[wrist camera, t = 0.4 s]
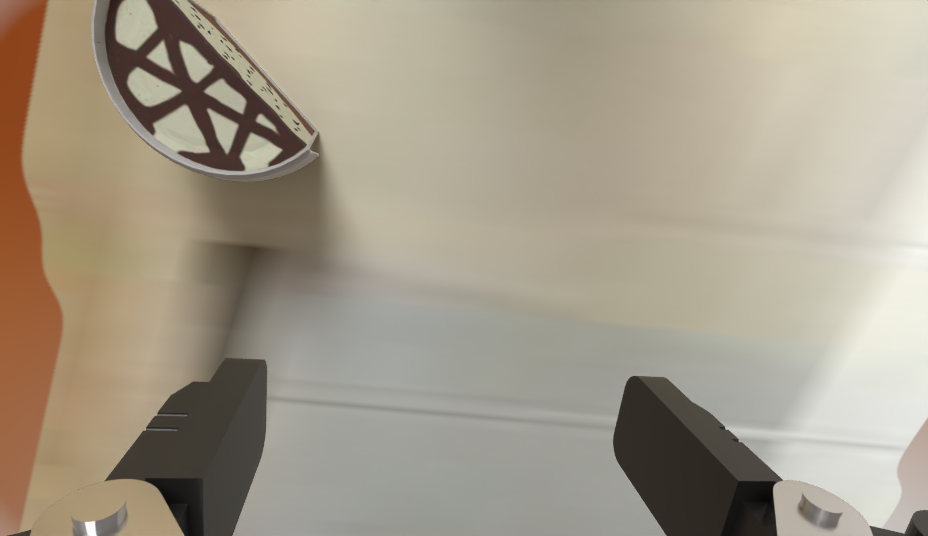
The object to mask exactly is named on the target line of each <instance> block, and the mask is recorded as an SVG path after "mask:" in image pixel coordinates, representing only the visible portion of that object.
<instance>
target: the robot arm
mask: <svg viewBox="0 0 928 536" xmlns="http://www.w3.org/2000/svg"><path fill="white" fill-rule="evenodd" d="M266 397H267V365H266V361H265V360H260V359H236V358H226V359H225V360H224V361H223V362H222V364H221V365H220V367H219V368H218V370H217V371H216V373H215V374H214V376H213V377H212V379H211V380H210V382H192V383H190V384H189V385H187V386H185V387H184V388H182V389H181V390H179V391H177V392H176V393H174V394H172V395H171V396H170V397H169V398H168V400H167V401H166V402H165V404H164V405H163V406H162V408H161V409H160V410H159V411H158V414H157V416H155V417H154V418H153V419H152V420H151V422H150V423H149V424H148V426H147V427H146V431H143V432H142V433H141V435H140V436H139V437H138V439H137V440H136V441H135V442H134V444H133V445H132V446H131V448H130V449H129V450H128V452H127V453H126V454H125V455H124V457H123V458H122V459H121V461H120V462H119V463H118V464H117V466H116V467H115V468H114V470H113V471H112V472H111V474H110V475H109V476H108V477H107V479H106V480H105V481H104V482H100V483H96V484H93V485H90V486H87V487H84V488H82V489H79V490H77V491H75V492H73V493H71V494H69V495H67V496H65V497H64V498H62V499H60V500H59V501H57V502H56V503H54V504H53V505H52V506H50V507H49V508H48V509H47V510H46V511H45V512H44V513H43V514H42V515H41V516H40V517H39V518H38V520H37V521H36V522H35V524H34V526H33V528H32V530H29V531H25V532H21V533H18V534H14V535H9V536H232V535H233V532H234V530H235V527H236V524H237V522H238V519H239V516H240V513H241V511H242V508H243V505H244V503H245V500H246V497H247V494H248V492H249V489H250V486H251V484H252V481H253V478H254V475H255V473H256V470H257V467H258V465H259V462H260V459H261V456H262V452H263V447H264V441H265V433H266ZM613 445H614V452H615V456H616V459H617V461H618V463H619V465H620V466H621V468H622V469H623V471H624V472H625V474H626V475H627V477H628V478H629V480H630V481H631V483H632V484H633V486H634V487H635V489H636V490H637V492H638V493H639V495H640V496H641V498H642V499H643V501H644V502H645V504H646V505H647V507H648V508H649V510H650V511H651V513H652V514H653V516H654V517H655V519H656V520H657V522H658V523H659V525H660V526H661V528H662V529H663V531H664V532H665V534H666V535H667V536H928V510H923V511H917V512H915V513H914V514H913V516H912V518H911V521H910V523H909V525H908V527H907V529H906V531H905V534H903V533H898V532H894V531H890V530H886V529H881V528H877V527H873V526H869V524H868V522H867V521H866V520H865V518H864V517H863V516H862V515H861V514H860V513H859V512H858V511H857V510H856V509H855V508H853V507H852V506H851V505H850V504H848V503H847V502H845V501H844V500H842V499H841V498H839V497H837V496H836V495H834V494H832V493H830V492H828V491H826V490H824V489H822V488H819V487H817V486H814V485H811V484H808V483H804V482H800V481H793V480H785V481H783V480H782V479H781V478H780V477H779V476H778V475H777V474H776V473H775V472H774V471H773V470H771V469H770V468H769V467H768V466H767V465H766V464H765V463H764V462H763V461H762V460H761V459H759V458H758V457H757V456H756V455H755V454H754V453H753V452H752V451H751V450H750V449H749V448H748V447H746V446H745V445H744V444H743V443H742V442H739V441H738V438H737V437H736V436H734V435H733V434H732V433H731V432H730V431H729V430H725V426H724V425H723V424H721V423H720V422H719V421H718V420H717V419H716V418H715V417H714V416H713V415H712V414H711V413H709V412H708V411H706V410H705V409H703V408H701V407H700V406H698V405H696V404H694V403H693V402H691V401H690V400H689V399H688V398H687V397H686V396H685V395H684V394H683V393H682V392H681V391H680V390H679V389H678V388H677V387H675V386H674V385H673V384H672V383H671V382H670V381H669V380H668V379H667V378H664V377H646V376H632V377H630V378H629V380H628V381H627V383H626V386H625V390H624V394H623V398H622V402H621V407H620V411H619V415H618V419H617V423H616V427H615V432H614V438H613Z"/></svg>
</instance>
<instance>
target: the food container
mask: <svg viewBox="0 0 928 536" xmlns="http://www.w3.org/2000/svg"><path fill="white" fill-rule="evenodd" d="M92 45H93V51H94V56H95V62H96V65H97V68H98V71H99V74H100V77H101V80H102V83H103V85H104V86H105V88H106V90H107V93H108V95H109V97H110V99H111V101H112V103H113V104H114V106H115V107H116V109H117V110H118V112H119V113H120V114H121V116H122V117H123V119H124V120H125V122H126V123H127V124H128V125H129V126H130V127H131V128H132V129H133V131H134V132H135V133H136V134H137V135H138V136H139V137H140V138H141V139H142V140H143V141H145V142H146V143H147V144H148V145H149V146H151V147H152V148H153V149H154V150H155V151H157V152H158V153H160V154H161V155H163V156H165V157H166V158H168V159H169V160H171V161H172V162H174V163H176V164H179V165H181V166H183V167H185V168H187V169H189V170H192V171H194V172H197V173H200V174H203V175H207V176H210V177H214V178H217V179H222V180H229V181H236V182H257V181H264V180H270V179H275V178H278V177H281V176H284V175H287V174H290V173H293V172H295V171H297V170H299V169H300V168H302V167H304V166H306V165H308V164H309V163H311V162H312V161H313V160H315V159H316V158H317V157H319V156H320V155H319V154H318V153H316V152H313V151H311V150H310V148H311V146H312V144H313V142H314V140H315V138H316V137H317V135H318V133H319V132H318V131H317V129H316V128H315V127H314V126H313V125H312V124H311V123H310V122H309V121H308V120H307V118H306V117H305V116H304V115H303V114H302V113H301V112H300V111H299V110H298V108H297V107H296V106H295V105H294V104H293V103H292V102H291V101H290V100H289V98H288V97H287V96H286V95H285V94H284V93H283V92H282V91H281V90H280V88H279V87H278V86H277V85H276V84H275V83H274V82H273V81H272V80H271V78H270V77H269V76H268V75H267V74H266V73H265V72H264V71H263V70H262V68H261V67H260V66H259V65H258V64H257V63H256V62H255V61H254V60H253V58H252V57H251V56H250V55H249V54H248V53H247V52H246V51H245V50H244V48H243V47H242V46H241V45H240V44H239V43H238V42H237V41H236V40H235V38H234V37H233V36H232V35H231V34H230V33H229V32H228V31H227V30H226V29H225V27H224V26H223V25H222V24H221V23H220V22H219V21H218V20H217V19H216V17H215V16H214V15H212V14H211V13H210V12H208V11H207V10H205V9H204V8H203V7H201V6H200V5H199V4H197V3H196V2H195V1H193V0H95V1H94V8H93V14H92Z"/></svg>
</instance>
